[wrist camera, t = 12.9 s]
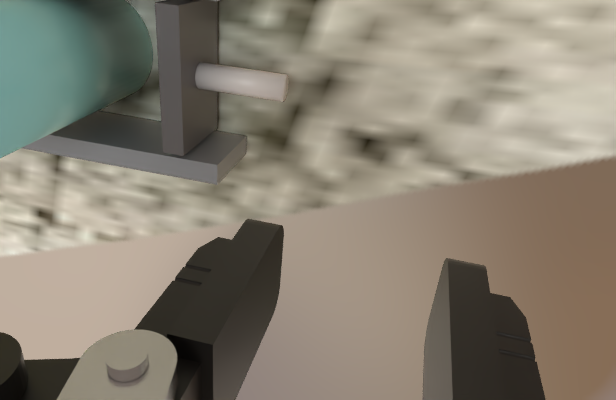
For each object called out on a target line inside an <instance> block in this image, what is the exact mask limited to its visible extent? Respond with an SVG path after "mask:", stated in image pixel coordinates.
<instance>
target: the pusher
mask: <svg viewBox="0 0 616 400" xmlns="http://www.w3.org/2000/svg"><path fill="white" fill-rule="evenodd" d="M155 12H156V30H157V49H158V67H159V85H160V104H161V122H162V141H163V152H164V153H170V154H176V155H181V156H184V155H185V154H187V153H188V152H189V151H190V150H191V149H193V148H194V147H195V146H196V145H197V144H199V143H200V142H201V141H202V140H203V139H205V138H206V137H207V136H208V135H209V134H211V133H212V132H213V131H214V130H216V129H217V92H223V93H230V94H236V95H243V96H249V97H256V98H262V99H268V100H275V101H281V102H284V101H285V99H286V97H287V93H288V86H289V78H288V75H287V74H281V73H274V72H267V71H260V70H253V69H246V68H240V67H233V66H226V65H219V64H217V57H218V1H211V0H166V1H161V2H156V3H155Z"/></svg>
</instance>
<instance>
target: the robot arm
mask: <svg viewBox="0 0 616 400" xmlns="http://www.w3.org/2000/svg"><path fill="white" fill-rule="evenodd" d="M283 237H284V230H283V226H282V225H276V224H272V223H266V222H262V221H257V220H252V219H247V220H246V221H245V222H244V223H243V225H242V226H241V228H240V229H239V231H238V232H237V234H236V235H235V236H234V238H233V239H232V240H230V239H225V238H220V237H218V238H216V239H214V240H212V241H210V242H209V243H207V244H205V245H204V246H202V247H200V248H198V250H197V251H196V252H195V253H194V254H193V256H192V257H191V258H190V259H189V261H188V262H187V263H186V266H185V267H183V268H182V270H181V271H180V272H179V273H178V275H177V276H176V278H175V281H172V282H171V284H170V285H169V286H168V287H167V289H166V290H165V291H164V292H163V294H162V295H161V296H160V297H159V299H158V300H157V301H156V303H155V304H154V305H153V306H152V308H151V309H150V310H149V311H148V313H147V314H146V315H145V316H144V318H143V319H142V320H141V322H140V323H139V324H138V326H137V327H136V328H135V329H134V330H126V331H122V332H117V333H114V334H111V335H109V336H107V337H104V338H102V339H101V340H99V341H97V342H96V343H94V344H93V345H92V346H91V347H89V348H88V349H87V350H86V351H85V353H84V354H83V355H82V357H81V358H74V359H44V360H24V358H23V354H22V350H21V347H20V344H19V343H18V341H17V340H16V339H15V338H13V337H12V336H10V335H8V334H5V333H1V332H0V400H235V399H236V397H237V395H238V393H239V390H240V388H241V386H242V384H243V381H244V379H245V377H246V375H247V372H248V370H249V368H250V366H251V363H252V361H253V359H254V357H255V354H256V352H257V350H258V348H259V345H260V343H261V340H262V338H263V336H264V334H265V332H266V330H267V327H268V325H269V323H270V321H271V318H272V316H273V313H274V311H275V307H276V304H277V300H278V295H279V289H280V277H281V264H282V251H283ZM530 341H531V337H530V333H529V329H528V324H527V321H526V317H525V316H524V315H523V313H522V312H521V311H520V309H519V308H518V307H517V306H516V304H515V303H514V302H513V300H512V299H511V298H510V297H507V296H502V295H497V294H492V293H490V290H489V283H488V277H487V270H486V267H485V266H484V265H479V264H474V263H468V262H464V261H459V260H453V259H448V258H446V260H445V261H444V264H443V267H442V271H441V275H440V279H439V282H438V286H437V290H436V294H435V298H434V302H433V305H432V309H431V313H430V317H429V321H428V326H427V331H426V339H425V347H424V373H423V400H545V395H544V391H543V387H542V383H541V379H540V374H539V370H538V366H537V362H535V354H534V350H533V345H532V343H530Z"/></svg>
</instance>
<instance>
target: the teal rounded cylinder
mask: <svg viewBox="0 0 616 400" xmlns="http://www.w3.org/2000/svg"><path fill="white" fill-rule="evenodd" d="M152 61H153V51H152V44H151V40H150V36H149V33H148V30H147V28H146V26H145V24H144V22H143V21H142V19H141V17H140V16H139V15H138V13H137V12H136V11H135V9H134V8H133V7H132V6H131V5H130V4H129V3H128V2H126V1H125V0H0V158H2V157H4V156H6V155H8V154H10V153H12V152H14V151H16V150H18V149H20V148H22V147H24V146H26V145H29V144H31V143H33V142H35V141H37V140H39V139H41V138H43V137H45V136H47V135H49V134H51V133H53V132H55V131H57V130H59V129H61V128H64V127H66V126H68V125H70V124H72V123H74V122H76V121H78V120H80V119H82V118H84V117H86V116H88V115H90V114H92V113H94V112H96V111H99V110H101V109H103V108H105V107H107V106H109V105H111V104H113V103H115V102H117V101H119V100H121V99H123V98H125V97H127V96H129V95H131V94H133V93H135V92H137V91H138V90H139V89H140V88H141V87H142V86H143V85H144V84H145V82H146V80H147V79H148V77H149V74H150V71H151V68H152Z"/></svg>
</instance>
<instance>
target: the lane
mask: <svg viewBox="0 0 616 400" xmlns="http://www.w3.org/2000/svg"><path fill="white" fill-rule="evenodd" d="M211 1H221V0H211ZM22 148H24V149H29V150H34V151H40V152H45V153H50V154H56V155H61V156H66V157H72V158H77V159H82V160H88V161H93V162H99V163H104V164H109V165H115V166H120V167H125V168H131V169H136V170H141V171H147V172H152V173H157V174H163V175H168V176H174V177H179V178H184V179H190V180H195V181H200V182H206V183H211V184H216V185H218V183H219V182H220V181H221V180H222V179H223V178H224V177H225V176H226V175H227V174H228V173H229V171H230V170H231V169H232V168H233V167H234V166H235V165H236V164H237V163H238V162H239V161H240V160H241V158H242V157H243V156H244V155H245V154H246V136H243V135H238V134H232V133H226V132H220V131H213V132H212V133H211V134H209V135H208V136H207V137H206V138H205V139H203V140H202V141H201V142H200V143H199V144H197V145H196V146H195V147H194V148H193V149H191V150H190V151H189V152H188V153H187V154H185V155H184V156H181V155H176V154H170V153H164V152H163V141H162V122H160V121H155V120H149V119H143V118H137V117H131V116H125V115H119V114H113V113H107V112H101V111H96V112H94V113H92V114H90V115H88V116H86V117H84V118H82V119H80V120H78V121H76V122H74V123H72V124H70V125H68V126H66V127H64V128H61V129H59V130H57V131H55V132H53V133H51V134H49V135H47V136H45V137H43V138H41V139H39V140H37V141H35V142H33V143H31V144H29V145H26V146H24V147H22Z"/></svg>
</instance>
